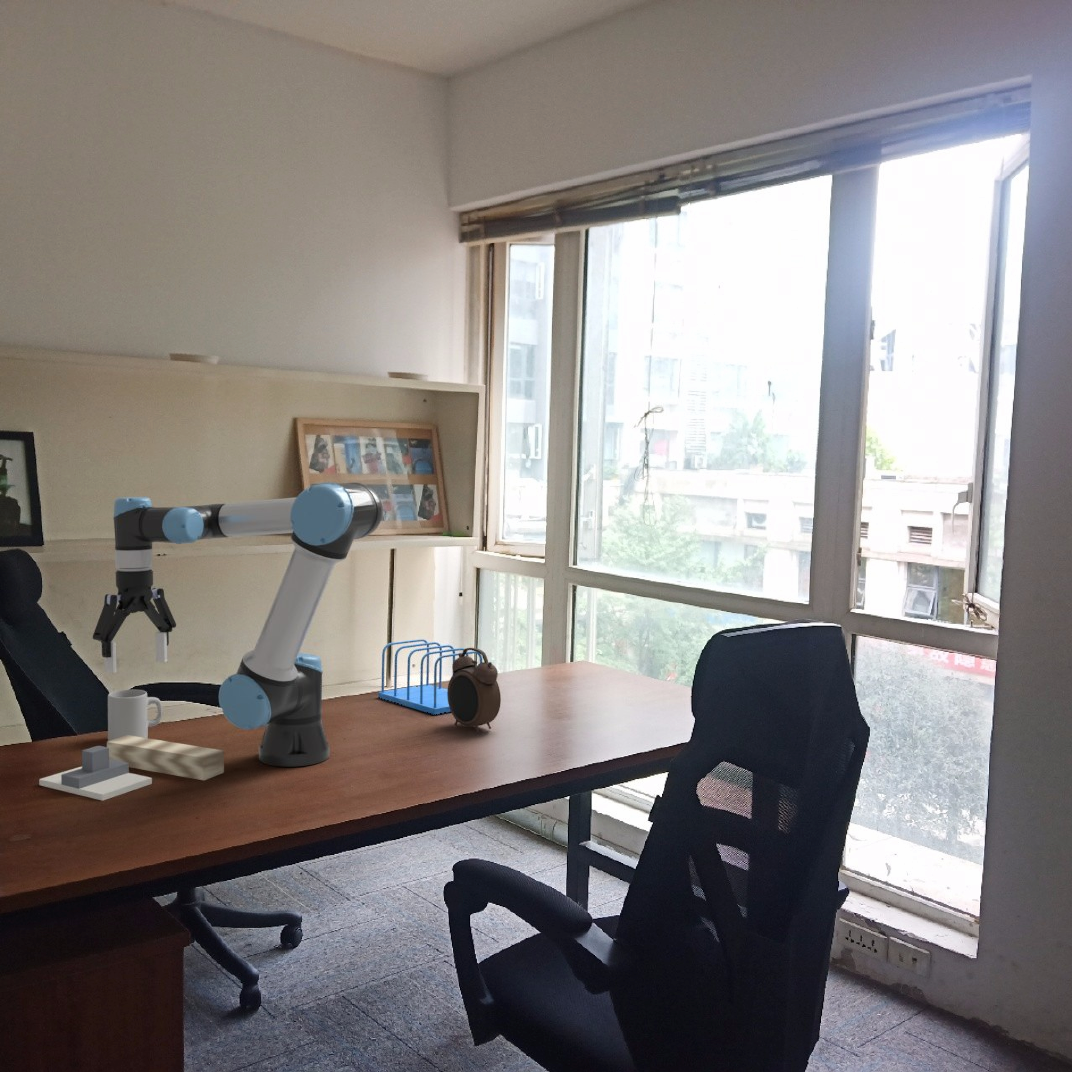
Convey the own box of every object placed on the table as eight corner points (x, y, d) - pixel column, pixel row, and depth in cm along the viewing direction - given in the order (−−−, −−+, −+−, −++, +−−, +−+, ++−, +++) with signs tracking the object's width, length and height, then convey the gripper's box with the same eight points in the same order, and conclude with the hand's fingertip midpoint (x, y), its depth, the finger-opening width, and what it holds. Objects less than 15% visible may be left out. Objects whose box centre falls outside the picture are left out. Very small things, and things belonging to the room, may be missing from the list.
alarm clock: (442, 725, 262) (443, 645, 260) (464, 720, 267) (466, 642, 265) (479, 737, 251) (481, 654, 249) (502, 732, 256) (504, 651, 254)
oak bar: (223, 774, 220) (223, 750, 220) (204, 782, 215) (204, 758, 215) (127, 757, 231) (127, 735, 230) (107, 764, 225) (106, 741, 225)
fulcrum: (151, 783, 212) (151, 748, 211) (102, 800, 201) (102, 763, 201) (89, 769, 220) (89, 735, 220) (39, 785, 210) (38, 749, 209)
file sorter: (485, 706, 283) (486, 650, 281) (434, 716, 271) (435, 657, 269) (427, 690, 300) (428, 636, 299) (377, 698, 288) (378, 643, 287)
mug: (113, 747, 236) (113, 699, 236) (103, 738, 243) (103, 692, 242) (167, 740, 244) (167, 693, 243) (156, 731, 250) (156, 686, 250)
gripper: (167, 563, 240) (169, 655, 241) (72, 573, 218) (75, 675, 219) (191, 564, 236) (193, 658, 237) (97, 575, 214) (100, 678, 216)
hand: (136, 666), depth 228 cm, fingers open, 13 cm apart
